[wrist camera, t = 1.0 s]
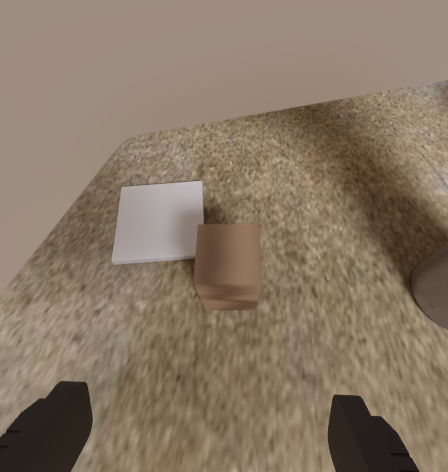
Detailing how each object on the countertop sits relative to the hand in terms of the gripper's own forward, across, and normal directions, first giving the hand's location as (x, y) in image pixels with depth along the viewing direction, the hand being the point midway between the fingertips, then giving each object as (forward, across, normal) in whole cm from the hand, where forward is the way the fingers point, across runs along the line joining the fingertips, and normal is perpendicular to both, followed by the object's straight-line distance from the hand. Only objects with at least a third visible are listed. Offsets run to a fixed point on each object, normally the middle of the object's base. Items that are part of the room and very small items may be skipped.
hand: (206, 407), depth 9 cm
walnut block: (+24, 0, +8) cm, 25 cm away
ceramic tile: (+31, +10, +1) cm, 32 cm away
